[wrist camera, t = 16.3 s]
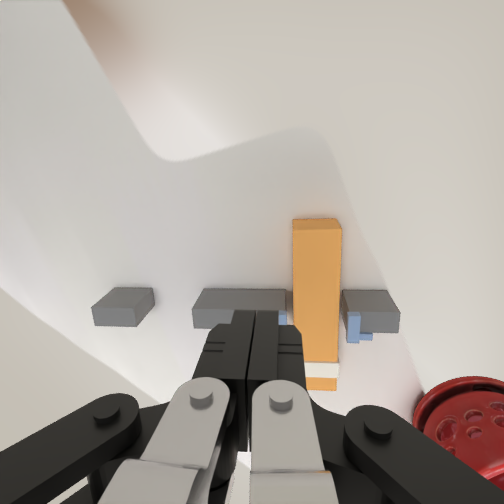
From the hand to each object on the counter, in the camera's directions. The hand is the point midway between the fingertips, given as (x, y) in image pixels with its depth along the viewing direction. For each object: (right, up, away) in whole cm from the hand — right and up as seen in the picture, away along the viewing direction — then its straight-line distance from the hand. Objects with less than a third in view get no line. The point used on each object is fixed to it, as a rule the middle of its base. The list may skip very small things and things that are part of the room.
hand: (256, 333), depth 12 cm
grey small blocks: (-1, -2, +24) cm, 24 cm away
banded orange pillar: (+6, -2, +23) cm, 24 cm away
